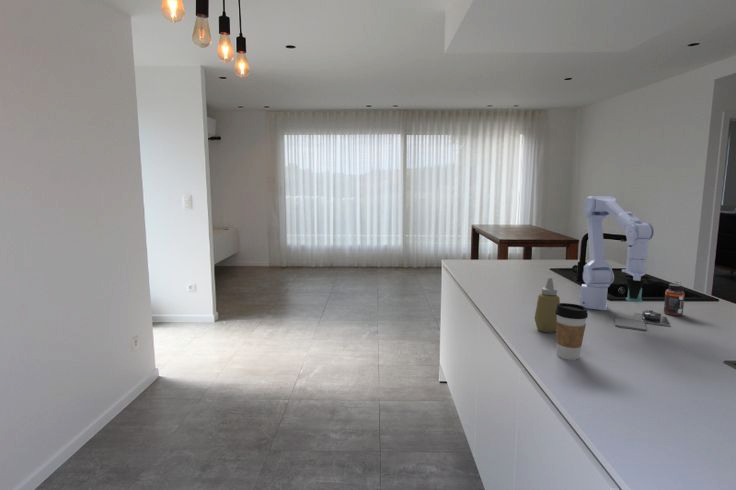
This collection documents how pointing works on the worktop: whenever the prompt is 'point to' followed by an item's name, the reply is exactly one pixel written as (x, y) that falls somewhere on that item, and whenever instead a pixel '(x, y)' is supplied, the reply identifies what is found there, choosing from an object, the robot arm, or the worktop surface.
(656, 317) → the rotary selector switch
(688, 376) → the worktop surface
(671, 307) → the supplement bottle
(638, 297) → the cap
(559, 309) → the coffee cup
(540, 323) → the squeeze bottle
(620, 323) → the pad
